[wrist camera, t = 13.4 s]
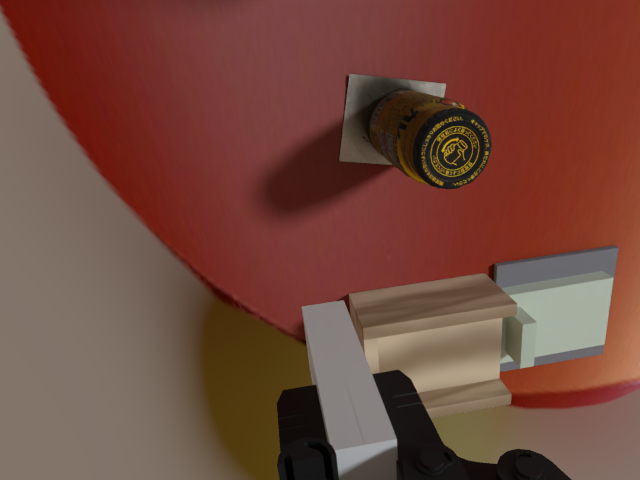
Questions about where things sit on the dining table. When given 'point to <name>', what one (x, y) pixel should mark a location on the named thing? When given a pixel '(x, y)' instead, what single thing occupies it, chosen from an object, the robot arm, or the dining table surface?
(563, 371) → the dining table surface
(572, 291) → the lid plate
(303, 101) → the dining table surface
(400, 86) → the condiment
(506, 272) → the rubber mat
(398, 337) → the oak box
